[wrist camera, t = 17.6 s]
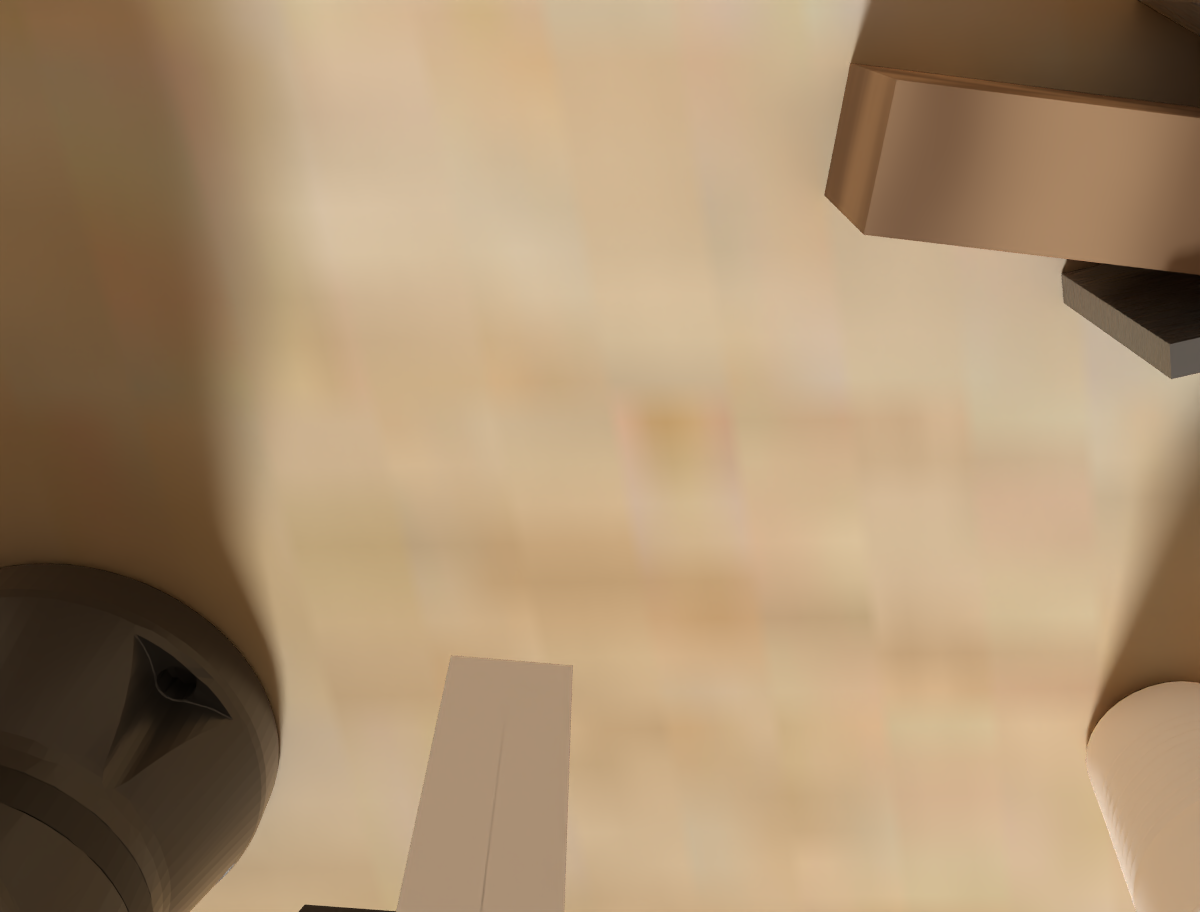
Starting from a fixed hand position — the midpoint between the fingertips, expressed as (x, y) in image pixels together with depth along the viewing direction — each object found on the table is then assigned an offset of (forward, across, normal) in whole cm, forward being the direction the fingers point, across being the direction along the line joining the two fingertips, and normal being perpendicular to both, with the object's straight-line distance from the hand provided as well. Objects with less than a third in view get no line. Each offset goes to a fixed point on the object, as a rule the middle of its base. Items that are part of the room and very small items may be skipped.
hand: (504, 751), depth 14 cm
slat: (+25, +17, +5) cm, 30 cm away
